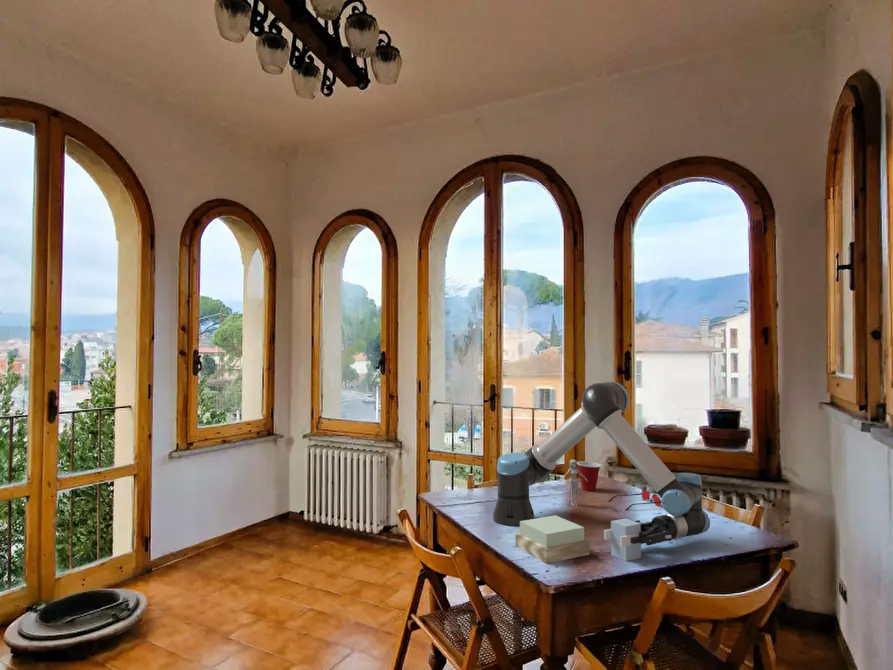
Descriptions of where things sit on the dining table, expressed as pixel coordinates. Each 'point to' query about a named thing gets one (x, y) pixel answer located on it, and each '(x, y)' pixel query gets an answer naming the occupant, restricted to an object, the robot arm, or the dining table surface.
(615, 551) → the tall brick
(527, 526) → the top brick
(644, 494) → the glasses
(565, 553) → the base brick
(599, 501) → the dining table surface
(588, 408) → the robot arm
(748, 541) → the dining table surface
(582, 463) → the plastic cup
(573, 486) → the human figurine
